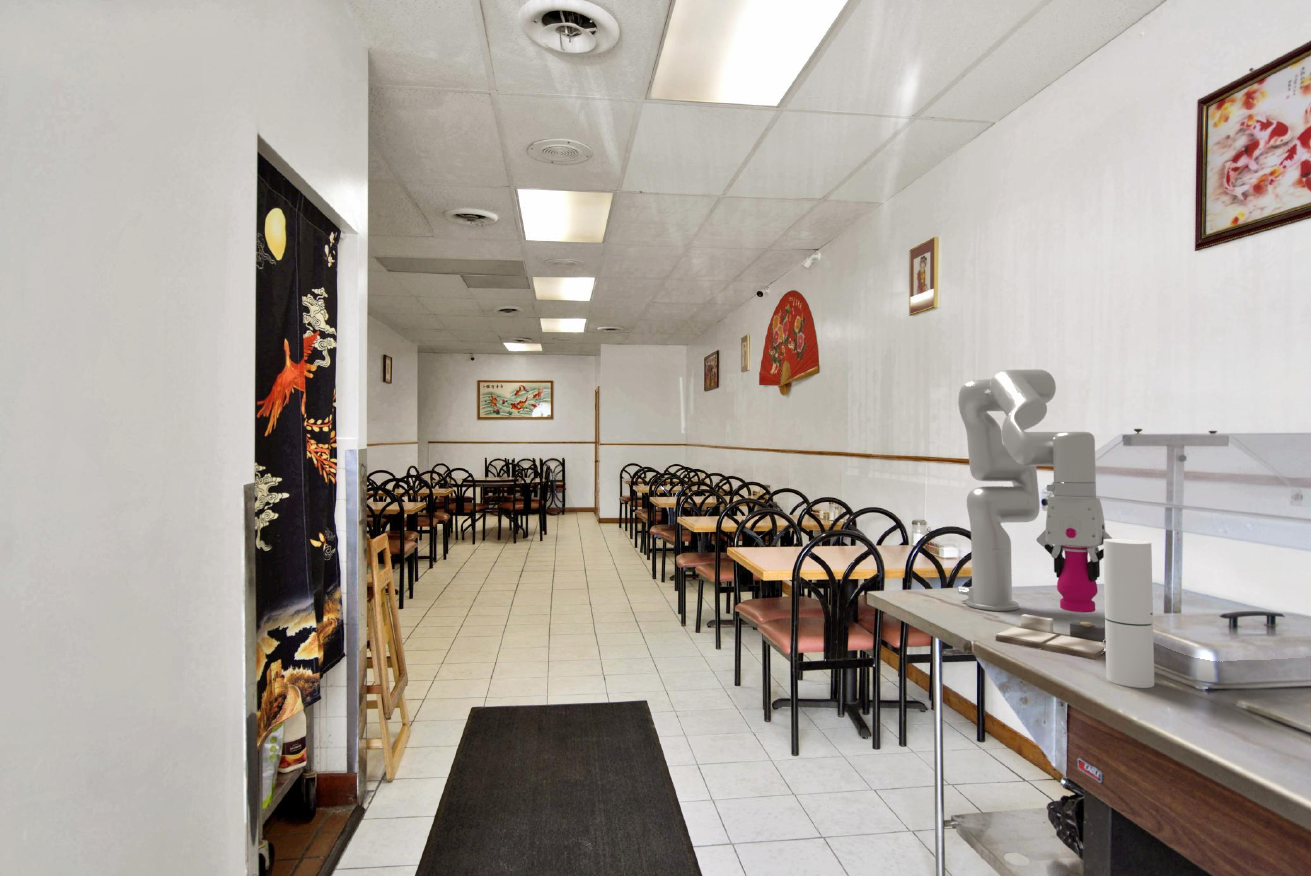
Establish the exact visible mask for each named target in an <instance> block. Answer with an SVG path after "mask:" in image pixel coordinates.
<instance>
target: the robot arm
mask: <svg viewBox="0 0 1311 876" xmlns="http://www.w3.org/2000/svg"><path fill="white" fill-rule="evenodd" d="M1056 385H1057V384H1056V381H1055V378H1054V377H1053V375H1052V374H1051V373H1050V372H1048V371H1046V370H1044V369H1035V368H1033V369H1005V370H1001V371H999V372H997V373H996V374H995V375H993V376H992V378H988V379H975V380H971V381H968V382H966V383H964V384H962V386H961V387H960V390H959V392H958V400H957V402H958V403H957V404H958V409H959V414H960V417H961V419H962V422H963V424H964V428H965V430H966V438H967V439H966V440H967V452H968V462H969V470H970V474H971V476H972V477H973V478H974V479H975V480H976V481H979V482H1011V483H1012V486H1004V485H1003V486H1002V485H1001V486H1000V485H999V486H998V485H997V486H995V485H994V486H990V485H989V486H988V485H987V486H981V487H980V486H979V487H975V488H973V489H971V490H970V491H969V492H968V494H967V497H966V508H967V513H968V518H969V524H970V526H969V527H970V540H971V541H970V543H971V586H969V587H967V586H962V585H959V586H958V588H957V592H958V594H959V595H966V596H968V598H966V600H965V604H966V605H967V606H969V607H971V608H974V609H978V610H984V611H995V612H996V611H997V612H1005V611H1006V612H1007V611H1008V612H1009V611H1011V612H1012V611H1015V610H1018V609H1019V608H1020V605H1019V602H1017V601H1015V600H1013V582H1012V581H1013V579H1012V541H1011V537H1010V535H1009V533H1008V532H1007V531H1006V530H1005V528H1003V526H1002V524H1004V523H1030V522H1033V521H1035V520H1036V519H1037V518H1038V516H1039V514H1040V508H1041V506H1040V493H1039V491H1040V490H1039V483H1038V471H1037V467H1053V482H1052V484H1046V491H1047V492H1052V495H1053V496H1050V497H1049V498H1048V502H1047V503H1048V504H1047V511H1046V520H1045V521H1046V522H1045V530H1043V532H1042V533H1041V534H1040V535H1038V537H1037V538H1036V542H1037V543H1038V544H1039V545H1040V546H1041V547H1043V548H1044V550H1045V551H1047V552H1048V553H1049V554H1050V556H1051V557H1052V558H1053V572H1054V573H1055V575H1056V578H1059V577H1060V575H1061V572H1062V569H1063V567H1064V563H1065V556H1064V555H1063V553H1064V550H1062V548H1063V546H1074V547H1086V548H1087V550H1088V556H1089V558H1090V559H1089V560H1090V561H1088V579H1089V581H1092V582H1093V581H1097V580H1098V578H1100V576H1101V571H1100V570H1101V569H1100V566H1101V565H1100V564H1101V563H1100V561H1102V559H1104V547H1103V548H1102V549H1099V546H1100V547H1101V546H1104V542H1103V540H1104V539H1113V537H1112V536H1111V535H1110V534H1109V533H1108V532H1107V531H1106V522H1105V518H1104V517H1105V516H1104V511H1103V507H1102V502H1101V499H1100V498H1098V497H1097V484H1096V483H1097V477H1096V475H1097V474H1096V473H1097V472H1096V470H1097V469H1096V440H1095V439H1096V438H1095V436H1094V434H1093V433H1091V432H1088V431H1026V430H1028V429H1032V428H1033V427H1035V426H1036V425H1038V424H1039V423H1040V422H1042V421H1043V420H1044V418H1045V416H1046V415H1047V411H1048V406H1047V404H1048V403H1049V402H1050V401H1051V400H1052V399H1053V398H1055V397H1054V396H1055V394H1056V391H1057V386H1056ZM988 412H1003V413H1004V414H1005V416H1006V417H1005V418H1004V421H1003V423H1002V427H1001V426H1000V424H999V423H998V422H997V421H996V419H995V418H994V417H993V416H992V415H990V414H989V413H988ZM1068 528H1073V529H1075V530H1076V531H1077V532H1075V533H1077V534H1076V536H1075V537H1074V538H1068V537H1067V536H1066V533H1065V532H1066V530H1067V529H1068Z"/></svg>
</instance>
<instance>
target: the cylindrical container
mask: <svg viewBox="0 0 1311 876" xmlns="http://www.w3.org/2000/svg"><path fill="white" fill-rule="evenodd" d="M1103 542H1104V544H1103V548H1104V558H1103V580H1104V581H1103V584H1104V587H1103V589H1104V591H1103V592H1104V622H1105V623H1104V627H1105V641H1106V652H1105V676H1106V679H1107V681H1109V682H1110V683H1113V684H1116V685H1119V686H1123V687H1129V688H1136V689H1137V688H1138V689H1148V688H1153V687H1154V686H1155V655H1154V654H1155V652H1154V649H1155V648H1154V647H1155V646H1154V606H1153V605H1154V604H1153V603H1154V602H1153V600H1154V599H1153V564H1152V563H1153V562H1152V559H1153V556H1152V554H1153V553H1152V549H1153V548H1152V542H1151V541H1150V540H1149V541H1148V540H1144V539H1143V540H1142V539H1130V538H1112V539H1104V540H1103Z"/></svg>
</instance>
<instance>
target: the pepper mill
mask: <svg viewBox="0 0 1311 876" xmlns="http://www.w3.org/2000/svg"><path fill="white" fill-rule="evenodd" d="M1075 532H1077V531H1076V530H1075V529H1073V528H1068V529H1067V530H1066V532H1065V533H1066V536H1067V537H1068V538H1074V537H1075V536H1076V534H1077V533H1075ZM1062 550H1064V551H1063V553H1064V558H1065V563H1064V567H1063V569H1062V572H1061V575H1060V577H1059V578H1058V579H1057V583H1056V590H1057V591H1058V593H1059V594H1060V595H1061V596H1062V598H1060V599H1059V607H1060V609H1062V610H1063V611H1067V612H1073V613H1083V614H1084V613H1094V612H1096V602H1095V601H1094V600H1093V598H1094V597H1096V596H1097V594H1098V591H1099V590H1098V584H1097V582H1096V581H1097V580H1096V581H1093V582H1092V581H1089V579H1088V562H1089V553H1088V550H1087V548H1086V547H1074V546H1063V548H1062Z"/></svg>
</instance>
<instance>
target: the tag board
mask: <svg viewBox="0 0 1311 876" xmlns="http://www.w3.org/2000/svg"><path fill="white" fill-rule="evenodd" d="M1104 639H1105V626H1101V625H1095V624H1094V623H1093V622H1089V621H1088V622H1087V621H1080V622H1075V621H1071V622H1070V623H1069V634H1065V633H1058V632H1054V618H1051V617H1044V616H1039V615H1038V616H1037V615H1032V614H1025V613H1024V614H1022V615H1020V626H1012V627H1009V628H1007V629H1005V630H1003V631H1001V632H998V633H996V634H995V641H996V640H998V641H997V642H1003V643H1007V644H1012V643H1014V644H1013V645H1017V644H1018V645H1017V646H1022V645H1024V647H1027V646H1028V648H1029V647H1030V648H1033V647H1034V648H1033V649H1038V648H1041V649H1040V650H1043V649H1045V650H1044V651H1048V650H1051V651H1050V652H1054V651H1055V652H1054V653H1059V652H1061V653H1060V654H1064V653H1066V654H1065V655H1069V654H1070V656H1074V655H1076V657H1081V658H1085V657H1088V658H1087V659H1090V658H1092V659H1091V660H1096V659H1097V658H1099V657H1100V656H1099V655H1101V653H1102V652H1103V650H1104V647H1105V646H1103V645H1102V644H1101V643H1102V642H1103V640H1104ZM1098 656H1099V657H1098ZM1101 656H1102V655H1101ZM1096 657H1097V658H1096Z"/></svg>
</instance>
